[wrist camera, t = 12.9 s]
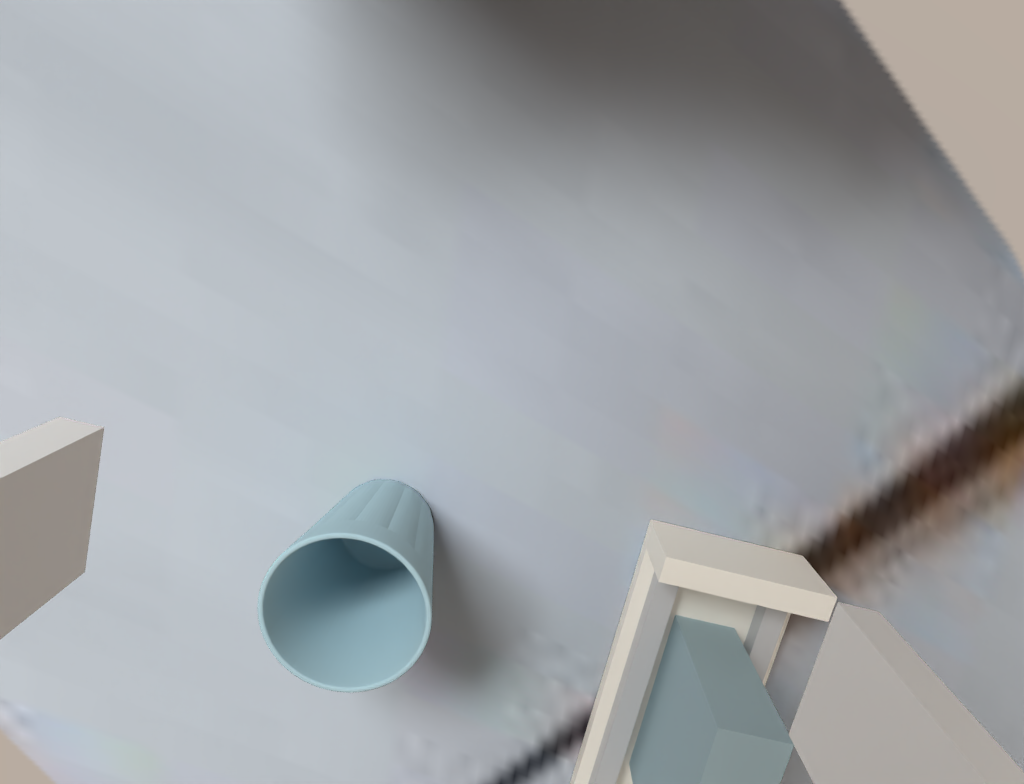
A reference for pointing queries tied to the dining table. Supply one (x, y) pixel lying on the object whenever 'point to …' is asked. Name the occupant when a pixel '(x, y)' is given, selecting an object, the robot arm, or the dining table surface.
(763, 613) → the track board
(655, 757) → the door panel
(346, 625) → the cup
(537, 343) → the dining table surface
